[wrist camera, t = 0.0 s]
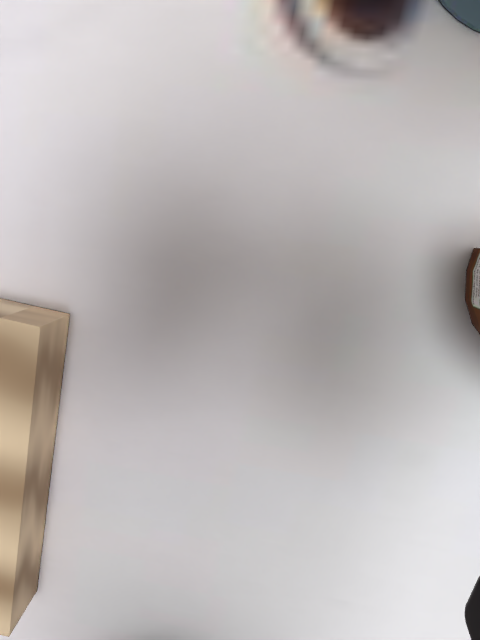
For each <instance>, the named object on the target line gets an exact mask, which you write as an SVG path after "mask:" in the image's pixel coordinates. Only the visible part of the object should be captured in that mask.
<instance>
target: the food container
mask: <svg viewBox="0 0 480 640" xmlns="http://www.w3.org/2000/svg"><path fill="white" fill-rule="evenodd" d="M465 300H466V304H467V307H468V311H469V314H470V318H471V321H472V324H473V326H474V327H475V328H476V330H477V331H478V332H479V334H480V248H474V249H473V252H472V255H471V258H470V261H469V264H468V267H467V270H466V288H465Z"/></svg>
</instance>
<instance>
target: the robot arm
mask: <svg viewBox="0 0 480 640" xmlns="http://www.w3.org/2000/svg"><path fill="white" fill-rule="evenodd" d="M465 620H466V625H467V628H468V631H469V634H470V637H471V640H480V576H479V578H478V580H477V582H476V584H475V586H474V589H473V591H472V593H471V595H470V597H469V599H468V602H467V604H466V606H465Z"/></svg>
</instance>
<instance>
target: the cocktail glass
mask: <svg viewBox="0 0 480 640" xmlns="http://www.w3.org/2000/svg"><path fill="white" fill-rule="evenodd" d="M440 2H441V3H442V5H443V6H444V7H445V8H446V9H447V10H448V11H449V12H450V13H451V14H452V15H453V16H454V17H455V18H456V19H458V20H459V21H461V22H462V23H464V24H465V25H467V26H468V27H470V28H471V29H473V30H476V31H478V32H480V0H440Z"/></svg>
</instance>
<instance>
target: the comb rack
mask: <svg viewBox="0 0 480 640" xmlns="http://www.w3.org/2000/svg"><path fill="white" fill-rule="evenodd" d="M69 317H70V314H68V313H63V312H59V311H54V310H50V309H45V308H41V307H37V306H32V305H28V304H23V303H19V302H14V301H10V300H5V299H1V298H0V635H3V636H8V637H9V636H10V634H11V633H12V631H13V629H14V628H15V626H16V624H17V623H18V621H19V619H20V618H21V616H22V615H23V613H24V611H25V610H26V608H27V606H28V605H29V603H30V601H31V600H32V598H33V596H34V595H35V593H36V591H37V586H38V577H39V569H40V560H41V552H42V544H43V535H44V527H45V518H46V510H47V502H48V493H49V485H50V477H51V468H52V460H53V451H54V443H55V435H56V426H57V418H58V410H59V401H60V393H61V384H62V376H63V368H64V359H65V351H66V342H67V334H68V326H69Z"/></svg>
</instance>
